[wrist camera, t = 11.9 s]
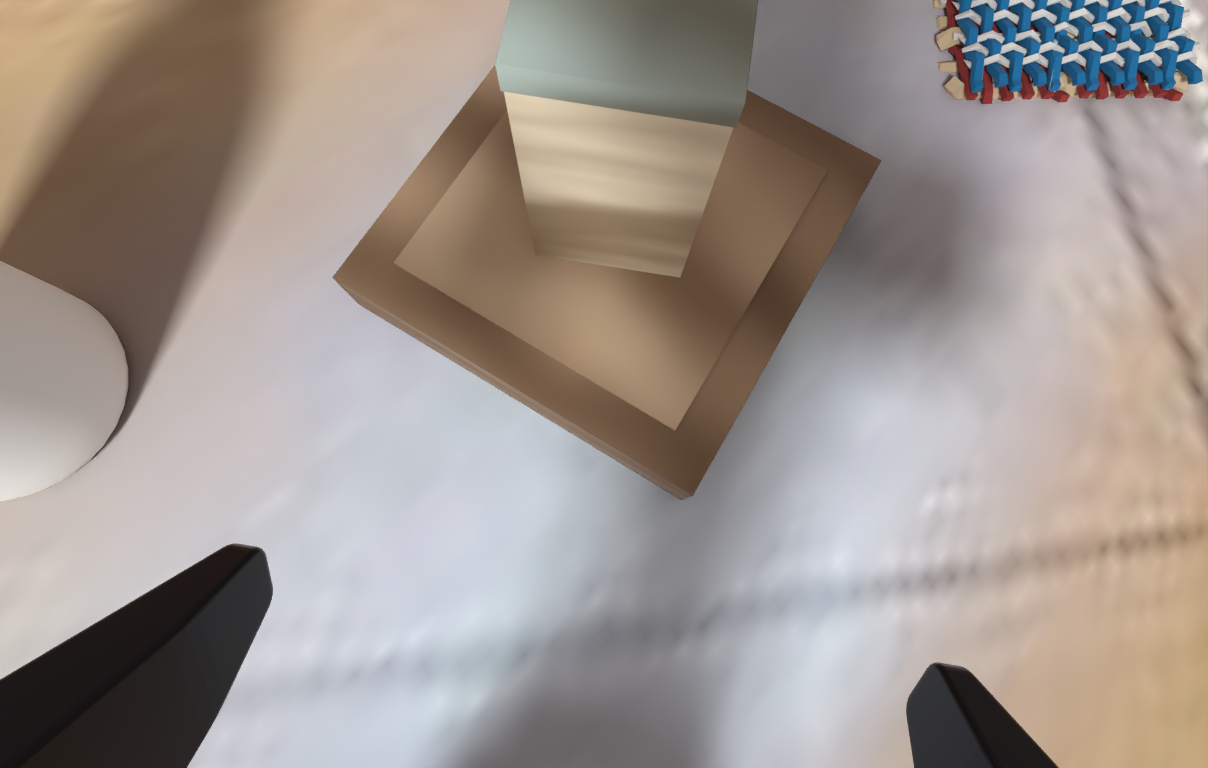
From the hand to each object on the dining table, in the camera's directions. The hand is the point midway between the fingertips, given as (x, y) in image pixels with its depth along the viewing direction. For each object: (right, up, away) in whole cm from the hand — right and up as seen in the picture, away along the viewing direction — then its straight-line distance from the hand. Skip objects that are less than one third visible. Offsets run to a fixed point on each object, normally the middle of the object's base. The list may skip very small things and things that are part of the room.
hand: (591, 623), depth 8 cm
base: (+1, +8, +16) cm, 18 cm away
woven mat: (+19, +20, +20) cm, 34 cm away
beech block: (+1, +9, +13) cm, 16 cm away
